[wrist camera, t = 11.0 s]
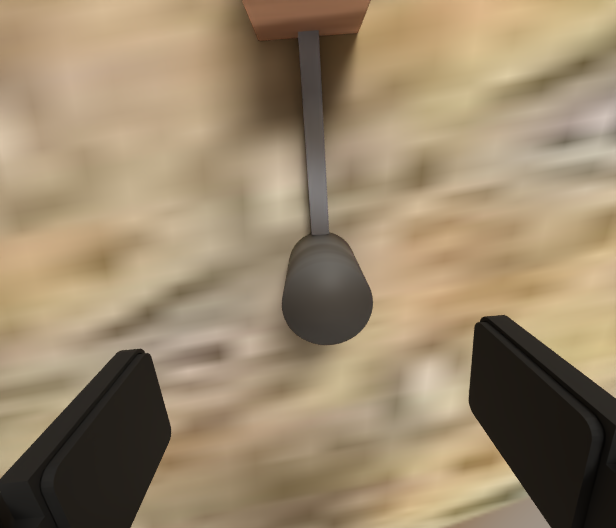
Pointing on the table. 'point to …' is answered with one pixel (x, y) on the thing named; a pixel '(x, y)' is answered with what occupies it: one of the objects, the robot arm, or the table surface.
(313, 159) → the pull block
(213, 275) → the table surface
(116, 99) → the table surface
